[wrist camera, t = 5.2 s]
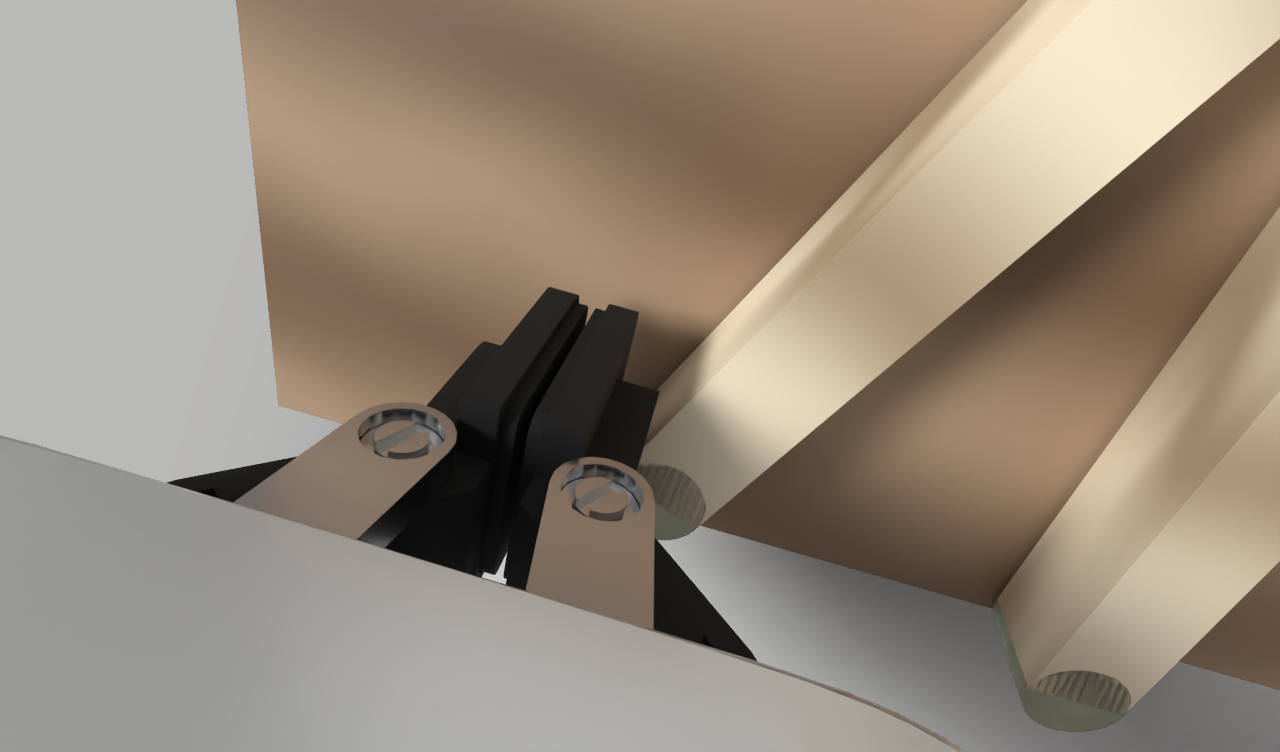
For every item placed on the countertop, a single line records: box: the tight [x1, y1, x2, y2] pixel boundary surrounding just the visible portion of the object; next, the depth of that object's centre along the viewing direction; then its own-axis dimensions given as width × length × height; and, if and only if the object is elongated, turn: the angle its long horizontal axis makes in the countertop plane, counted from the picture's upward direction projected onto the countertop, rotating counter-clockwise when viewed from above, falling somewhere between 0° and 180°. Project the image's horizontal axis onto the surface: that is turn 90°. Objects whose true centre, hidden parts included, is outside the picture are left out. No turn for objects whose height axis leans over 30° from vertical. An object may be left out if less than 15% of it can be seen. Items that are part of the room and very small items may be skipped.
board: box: [236, 0, 1280, 690], centre depth 12 cm, size 17×24×2 cm
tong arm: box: [637, 0, 1280, 540], centre depth 9 cm, size 17×4×2 cm, turn 143°
